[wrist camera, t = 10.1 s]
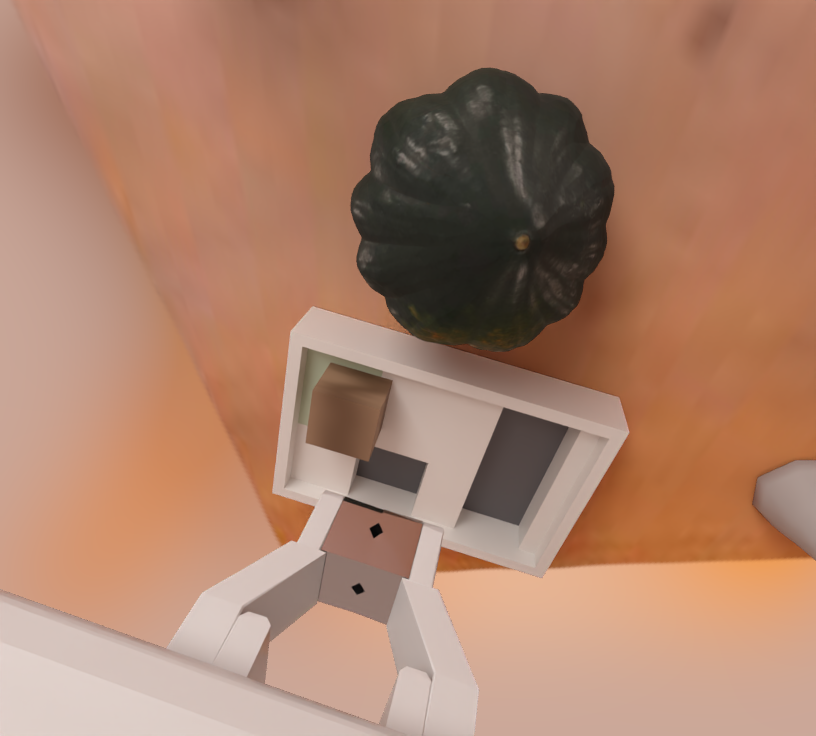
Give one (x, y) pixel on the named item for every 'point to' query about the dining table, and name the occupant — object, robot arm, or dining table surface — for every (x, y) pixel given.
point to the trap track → (453, 441)
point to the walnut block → (347, 411)
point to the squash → (482, 211)
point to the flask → (790, 502)
